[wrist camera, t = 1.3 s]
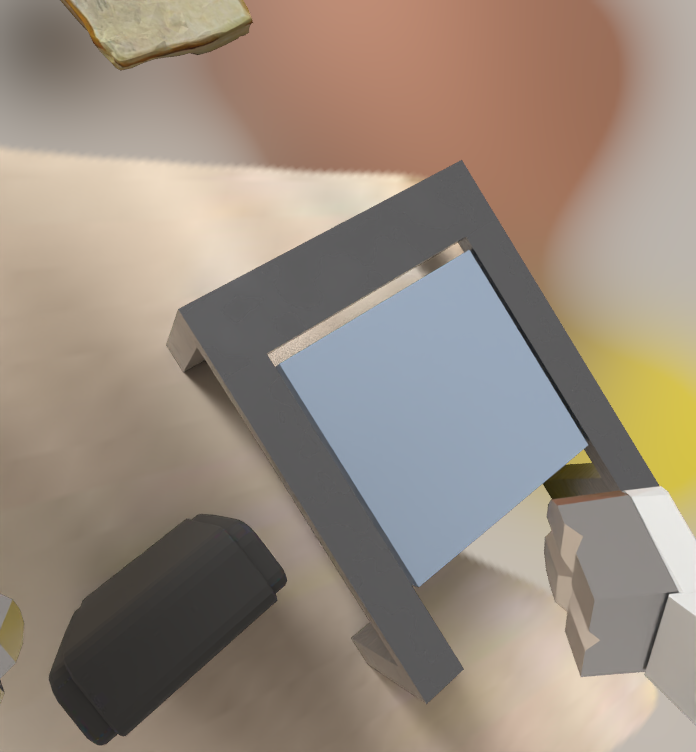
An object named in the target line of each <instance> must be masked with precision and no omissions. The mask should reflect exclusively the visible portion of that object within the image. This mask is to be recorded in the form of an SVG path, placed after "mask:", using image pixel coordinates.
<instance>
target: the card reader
mask: <svg viewBox="0 0 696 752" xmlns="http://www.w3.org/2000/svg"><path fill="white" fill-rule="evenodd" d="M286 582H287V578H286V575H285V572H284V570H283V569H282V567H281V566H280V564H279V563H278V562H277V561H276V559H275V558H274V557H273V555H272V554H271V553H270V551H269V550H268V549H267V547H266V546H265V545H264V543H263V542H262V541H261V539H260V538H259V537H258V535H257V534H256V533H255V532H254V531H253V530H252V529H251V528H250V527H249V526H248V525H247V524H245V523H244V522H242V521H240V520H237V519H232V518H227V517H222V516H217V515H208V514H199V515H197V516H196V517H194V518H193V519H192V520H191V519H186V520H184V521H183V522H182V523H181V524H179V525H178V526H177V527H175V528H174V529H173V530H172V531H170V532H169V533H168V534H166V535H165V536H164V537H163V538H161V539H160V540H159V541H158V542H156V543H155V544H154V545H152V546H151V547H150V548H149V549H147V550H146V551H145V552H144V553H142V554H141V555H140V556H138V557H137V558H136V559H135V560H133V561H132V562H131V563H129V564H128V565H127V566H126V567H124V568H123V569H122V570H121V571H119V572H118V573H117V574H115V575H114V576H113V577H112V578H110V579H109V580H108V581H106V582H105V583H104V584H103V585H101V586H100V587H99V588H98V589H96V590H95V591H94V592H92V593H91V594H90V595H89V596H87V597H86V598H85V599H84V600H83V601H82V604H81V607H80V608H79V609H77V610H76V611H75V613H74V614H73V616H72V619H71V621H70V623H69V625H68V627H67V630H66V632H65V634H64V637H63V639H62V642H61V645H60V647H59V650H58V653H57V655H56V658H55V660H54V663H53V666H52V669H51V671H50V674H49V681H50V685H51V688H52V691H53V693H54V695H55V697H56V699H57V701H58V702H59V704H60V705H61V706H62V707H63V709H64V710H65V711H66V712H67V714H68V715H69V716H70V717H71V719H72V720H73V721H74V722H75V724H76V725H77V726H78V728H79V729H80V730H81V731H82V733H83V734H84V735H85V736H86V738H87V739H89V740H90V741H92V742H93V743H95V744H97V745H104V744H107V743H108V742H109V741H110V740H111V739H113V738H114V737H115V736H116V735H117V734H119V735H120V736H126V735H127V734H128V733H129V732H131V731H132V730H133V729H134V728H135V727H136V726H137V725H138V724H139V723H141V722H142V721H143V720H144V719H145V718H146V717H147V716H148V715H150V714H151V713H152V712H153V711H154V710H155V709H156V708H157V707H158V706H160V705H161V704H162V703H163V702H164V701H165V700H166V699H167V698H169V697H170V696H171V695H172V694H173V693H174V692H175V691H176V690H178V689H179V688H180V687H181V686H182V685H183V684H184V683H185V682H186V681H188V680H189V679H190V678H191V677H192V676H193V675H194V674H195V673H197V672H198V671H199V670H200V669H201V668H202V667H203V666H204V665H205V664H207V663H208V662H209V661H210V660H211V659H212V658H213V657H214V656H216V655H217V654H218V653H219V652H220V651H221V650H222V649H223V648H224V647H226V646H227V645H228V644H229V643H230V642H231V641H232V640H233V639H235V638H236V637H237V636H238V635H239V634H240V633H241V632H242V631H243V630H245V629H246V628H247V627H248V626H249V625H250V624H251V623H252V622H254V621H255V620H256V619H257V618H258V617H259V616H260V615H261V614H262V613H264V612H265V611H266V610H267V609H268V608H269V607H270V606H271V605H273V604H274V603H275V602H276V601H277V596H276V593H277V592H278V591H279V590H280V589H281V588H283V587H284V586H285V584H286Z"/></svg>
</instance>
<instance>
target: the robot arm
mask: <svg viewBox="0 0 696 752" xmlns="http://www.w3.org/2000/svg"><path fill="white" fill-rule="evenodd" d="M547 519H548V522H549V524H550V527H551V530H552V531H551V532H550V533H549V534H548V535H547V536H546V537H545V547H544V548H545V549H544V555H545V562H546V571H547V576H548V579H549V584H550V587H551V590H552V593H553V597H554V600H555V602H556V603H557V604H558V605H560V606H561V607H562V608H563V609H564V610H566V611H567V619H566V627H565V633H566V636H567V638H568V641H569V644H570V647H571V650H572V653H573V656H574V659H575V662H576V665H577V667H578V670H579V673H580V676H581V677H586V676H598V675H611V674H623V673H636V672H645V676H646V677H647V678H648V679H649V680H650V681H651V682H652V683H653V684H654V685H655V686H656V687H657V688H658V689H659V690H660V691H661V692H662V693H663V694H664V695H665V696H666V697H667V698H668V699H669V700H670V701H671V702H672V703H673V704H674V705H675V706H677V708H678V709H679V710H680V711H681V712H682V713H684V714H685V715H686V716H687V717H688V718H689V719H690V720H691V721H692V722H693V723H694V724H695V725H696V538H695V537H694V535H693V533H692V532H691V530H690V528H689V527H688V525H687V523H686V521H685V520H684V518H683V516H682V515H681V513H680V511H679V509H678V508H677V506H676V504H675V503H674V501H673V499H672V498H671V496H670V494H669V493H668V491H666V490H665V489H664V488H662V487H661V486H659V487H650V488H641V489H633V490H625V491H620V490H618V491H611V492H603V493H596V494H588V495H581V496H573V497H566V498H558V499H552V500H551V501H550V502H549V504H548V511H547ZM23 631H24V621H23V618H22V615H21V611H20V609H19V607H18V606H17V605H16V603H15V602H14V601H13V599H11V598H8V597H6V596H4V595H2V594H0V678H1V677H2V676H3V675H4V674H5V673H6V672H7V671H8V670H9V669H10V668H11V667H12V666H13V665H14V664H15V663H16V661H17V658H18V656H19V653H20V650H21V647H22V644H23ZM3 696H4V690H3V687H2V684H1V680H0V704H1V701H2V699H3Z"/></svg>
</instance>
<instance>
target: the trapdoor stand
mask: <svg viewBox="0 0 696 752" xmlns="http://www.w3.org/2000/svg"><path fill="white" fill-rule="evenodd" d="M456 243H459V245H460V247H461V248H462V250H463V251H464V253H465V252H466V251H468V250H470V252H471V253H472V255H473V257H474V258H475V260H476V262H477V263H478V265H479V266H480V268H481V270H482V271H483V273H484V275H485V276H486V278H487V280H488V281H489V283H490V284H491V286H492V288H493V289H494V291H495V293H496V294H497V296H498V298H499V299H500V301H501V303H502V304H503V306H504V307H505V309H506V311H507V312H508V314H509V316H510V317H511V319H512V321H513V322H514V324H515V326H516V327H517V329H518V330H519V332H520V334H521V335H522V337H523V339H524V340H525V342H526V344H527V345H528V347H529V348H530V350H531V352H532V353H533V355H534V357H535V358H536V360H537V362H538V363H539V365H540V367H541V368H542V370H543V371H544V373H545V375H546V376H547V378H548V380H549V381H550V383H551V385H552V386H553V388H554V390H555V391H556V393H557V394H558V396H559V398H560V399H561V401H562V403H563V404H564V406H565V408H566V409H567V411H568V412H569V414H570V416H571V417H572V419H573V421H574V422H575V424H576V426H577V427H578V429H579V431H580V432H581V434H582V435H583V437H584V439H585V440H586V442H587V444H588V446H587V447H586V448H584V450H585V451H586V453H587V455H588V456H589V458H590V460H591V461H592V463H586V464H570V465H564V466H563V467H562V468H561V469H559V470H558V471H557V472H556V473H555V474H553V475H552V476H551V477H550V478H549V479H547V480H546V481H545V482H544V483H543V485H544V486H545V488H546V490H547V491H548V493H549V495H550V496H551V498H552V499H558V498H566V497H573V496H581V495H588V494H596V493H603V492H611V491H618V490H620V491H625V490H633V489H641V488H650V487H659V484H658V483H657V481H656V479H655V478H654V477H653V474H652V473H651V471H650V470H649V468H648V466H647V465H646V463H645V461H644V460H643V458H642V456H641V455H640V453H639V451H638V450H637V448H636V446H635V445H634V443H633V442H632V440H631V438H630V437H629V435H628V433H627V432H626V430H625V428H624V427H623V425H622V424H621V422H620V420H619V419H618V417H617V415H616V413H615V412H614V410H613V409H612V407H611V405H610V404H609V402H608V400H607V399H606V397H605V395H604V394H603V392H602V390H601V389H600V387H599V385H598V384H597V382H596V381H595V379H594V377H593V376H592V374H591V372H590V371H589V369H588V367H587V366H586V364H585V363H584V361H583V359H582V358H581V356H580V354H579V353H578V351H577V349H576V348H575V346H574V344H573V343H572V341H571V339H570V338H569V336H568V335H567V333H566V331H565V329H564V328H563V326H562V324H561V323H560V321H559V319H558V318H557V316H556V315H555V313H554V311H553V310H552V308H551V306H550V305H549V303H548V301H547V300H546V299H545V296H544V295H543V293H542V291H541V290H540V288H539V287H538V285H537V283H536V282H535V280H534V278H533V277H532V275H531V273H530V272H529V270H528V269H527V267H526V265H525V263H524V262H523V260H522V259H521V257H520V255H519V254H518V252H517V251H516V249H515V247H514V246H513V244H512V242H511V240H510V239H509V237H508V235H507V234H506V232H505V230H504V229H503V227H502V226H501V224H500V222H499V221H498V219H497V217H496V216H495V214H494V213H493V211H492V209H491V208H490V206H489V204H488V202H487V201H486V199H485V198H484V196H483V194H482V193H481V191H480V190H479V188H478V186H477V184H476V183H475V181H474V179H473V178H472V176H471V175H470V173H469V171H468V169H467V168H466V166H465V165H464V163H463V161H462V160H461V161H459V162H457V163H455V164H453V165H452V166H449V167H448V168H446V169H444V170H442V171H440V172H438V173H436V174H434V175H432V176H430V177H429V178H427V179H425V180H423V181H421V182H419V183H417V184H415V185H413V186H411V187H410V188H408V189H406V190H404V191H402V192H400V193H398V194H396V195H394V196H392V197H391V198H389V199H387V200H385V201H383V202H381V203H379V204H377V205H375V206H373V207H372V208H370V209H368V210H366V211H364V212H362V213H360V214H358V215H356V216H354V217H353V218H351V219H349V220H347V221H345V222H343V223H341V224H339V225H337V226H335V227H334V228H332V229H330V230H328V231H326V232H324V233H322V234H320V235H318V236H316V237H315V238H313V239H311V240H309V241H307V242H305V243H303V244H301V245H299V246H297V247H296V248H294V249H292V250H290V251H288V252H286V253H284V254H282V255H280V256H278V257H277V258H275V259H273V260H271V261H269V262H267V263H265V264H263V265H261V266H259V267H258V268H256V269H254V270H252V271H250V272H248V273H246V274H244V275H242V276H240V277H239V278H237V279H235V280H233V281H231V282H229V283H227V284H225V285H223V286H221V287H219V288H218V289H216V290H214V291H212V292H210V293H208V294H206V295H204V296H202V297H200V298H199V299H197V300H195V301H193V302H191V303H189V304H187V305H185V306H183V307H181V308H180V309H178V311H177V314H176V317H175V320H174V323H173V326H172V329H171V332H170V335H169V338H168V341H167V344H166V346H167V347H168V349H169V350H170V352H171V354H172V355H173V357H174V358H175V360H176V361H177V363H178V365H179V366H180V368H181V369H182V371H183V372H184V371H186V370H188V369H190V368H192V367H193V366H195V365H197V364H199V363H200V362H202V361H204V360H206V362H207V364H208V365H209V367H210V368H211V370H212V372H213V373H214V375H215V376H216V378H217V379H218V381H219V383H220V384H221V386H222V387H223V389H224V391H225V392H226V394H227V395H228V397H229V399H230V400H231V402H232V403H233V405H234V406H235V408H236V410H237V411H238V413H239V414H240V416H241V418H242V419H243V421H244V422H245V424H246V426H247V427H248V429H249V430H250V432H251V433H252V435H253V437H254V438H255V440H256V441H257V443H258V445H259V446H260V448H261V449H262V451H263V453H264V454H265V456H266V457H267V459H268V460H269V462H270V464H271V465H272V467H273V468H274V470H275V472H276V473H277V475H278V476H279V478H280V480H281V481H282V483H283V484H284V486H285V487H286V489H287V491H288V492H289V494H290V495H291V497H292V499H293V500H294V502H295V503H296V505H297V507H298V508H299V510H300V511H301V513H302V514H303V516H304V518H305V519H306V521H307V522H308V524H309V526H310V527H311V529H312V530H313V532H314V534H315V535H316V537H317V538H318V540H319V541H320V543H321V545H322V546H323V548H324V549H325V551H326V553H327V554H328V556H329V557H330V559H331V561H332V562H333V564H334V565H335V567H336V568H337V570H338V572H339V573H340V575H341V576H342V578H343V580H344V581H345V583H346V584H347V586H348V588H349V589H350V591H351V592H352V594H353V595H354V597H355V599H356V600H357V602H358V603H359V605H360V607H361V608H362V610H363V611H364V613H365V615H366V616H367V618H368V619H369V621H370V623H369V624H367V625H366V626H365V627H364V628H363V629H361V630H360V631H359V632H358V633H357V634H355V635H354V636H353V637H352V638H351V639H352V640H353V642H354V643H355V645H356V647H357V648H358V650H359V651H360V653H361V654H362V656H363V658H364V659H365V661H366V662H367V664H368V665H370V666H371V667H373V668H374V669H376V670H377V671H379V672H380V673H381V674H383V675H384V676H386V677H387V678H389V679H390V680H392V681H393V682H395V683H396V684H398V685H399V686H401V687H402V688H404V689H405V690H407V691H408V692H410V693H411V694H413V695H414V696H416V697H417V698H418V699H420V700H421V701H423V702H424V703H426V704H427V703H428V702H429V701H430V700H431V699H432V698H434V697H435V696H436V695H437V694H438V693H439V692H440V691H441V690H442V689H443V688H444V687H445V686H446V685H447V684H449V683H450V682H451V681H452V680H453V679H454V678H455V677H456V676H457V675H458V674H459V673H460V672H461V671H462V670H464V669H463V667H462V665H461V664H460V662H459V661H458V659H457V657H456V656H455V654H454V653H453V651H452V649H451V648H450V646H449V645H448V643H447V641H446V640H445V638H444V637H443V635H442V633H441V632H440V630H439V629H438V627H437V625H436V624H435V622H434V621H433V619H432V617H431V616H430V614H429V613H428V611H427V609H426V608H425V606H424V605H423V603H422V601H421V600H420V598H419V597H418V595H417V593H416V592H415V590H414V589H413V587H412V585H411V584H410V582H409V581H408V579H407V577H406V576H405V574H404V573H403V571H402V569H401V568H400V566H399V565H398V563H397V561H396V560H395V558H394V557H393V555H392V553H391V552H390V550H389V549H388V547H387V545H386V544H385V542H384V541H383V539H382V537H381V536H380V534H379V533H378V531H377V529H376V528H375V526H374V525H373V523H372V521H371V520H370V518H369V517H368V515H367V513H366V512H365V510H364V509H363V507H362V505H361V504H360V502H359V501H358V499H357V497H356V496H355V494H354V493H353V491H352V489H351V488H350V486H349V485H348V483H347V481H346V480H345V478H344V477H343V475H342V474H341V472H340V470H339V469H338V467H337V466H336V464H335V462H334V461H333V459H332V458H331V456H330V454H329V453H328V451H327V450H326V448H325V446H324V445H323V443H322V442H321V440H320V438H319V437H318V435H317V434H316V432H315V430H314V429H313V427H312V426H311V424H310V422H309V421H308V419H307V418H306V416H305V414H304V413H303V411H302V410H301V408H300V406H299V405H298V403H297V402H296V400H295V398H294V397H293V395H292V394H291V392H290V390H289V389H288V387H287V386H286V384H285V382H284V381H283V379H282V378H281V376H280V374H279V373H278V371H277V370H276V368H275V366H274V365H273V363H272V362H271V360H270V358H269V357H268V354H269V353H271V352H273V351H274V350H276V349H278V348H280V347H281V346H283V345H285V344H286V343H288V342H290V341H291V340H293V339H295V338H297V337H298V336H300V335H302V334H303V333H305V332H307V331H308V330H310V329H312V328H313V327H315V326H317V325H319V324H320V323H322V322H324V321H325V320H327V319H329V318H330V317H332V316H334V315H335V314H337V313H339V312H341V311H342V310H344V309H346V308H347V307H349V306H351V305H352V304H354V303H356V302H358V301H359V300H361V299H363V298H364V297H366V296H368V295H369V294H371V293H373V292H374V291H376V290H378V289H380V288H381V287H383V286H385V285H386V284H388V283H390V282H391V281H393V280H395V279H397V278H398V277H400V276H402V275H403V274H405V273H407V272H408V271H410V270H412V269H413V268H415V267H417V266H419V265H420V264H422V263H424V262H425V261H427V260H429V259H430V258H432V257H434V256H436V255H437V254H439V253H441V252H442V251H444V250H446V249H447V248H449V247H451V246H452V245H454V244H456Z"/></svg>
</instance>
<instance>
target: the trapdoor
mask: <svg viewBox="0 0 696 752" xmlns="http://www.w3.org/2000/svg"><path fill="white" fill-rule="evenodd" d="M275 368H276V370H277V371H278V373H279V374H280V376H281V378H282V379H283V381H284V382H285V384H286V386H287V387H288V389H289V390H290V392H291V394H292V395H293V397H294V398H295V400H296V402H297V403H298V405H299V406H300V408H301V410H302V411H303V413H304V414H305V416H306V418H307V419H308V421H309V422H310V424H311V426H312V427H313V429H314V430H315V432H316V434H317V435H318V437H319V438H320V440H321V442H322V443H323V445H324V446H325V448H326V450H327V451H328V453H329V454H330V456H331V458H332V459H333V461H334V462H335V464H336V466H337V467H338V469H339V470H340V472H341V474H342V475H343V477H344V478H345V480H346V481H347V483H348V485H349V486H350V488H351V489H352V491H353V493H354V494H355V496H356V497H357V499H358V501H359V502H360V504H361V505H362V507H363V509H364V510H365V512H366V513H367V515H368V517H369V518H370V520H371V521H372V523H373V525H374V526H375V528H376V529H377V531H378V533H379V534H380V536H381V537H382V539H383V541H384V542H385V544H386V545H387V547H388V549H389V550H390V552H391V553H392V555H393V557H394V558H395V560H396V561H397V563H398V565H399V566H400V568H401V569H402V571H403V573H404V574H405V576H406V577H407V579H408V581H409V582H410V584H411V585H414V586H417V587H420V586H421V585H422V584H423V583H425V582H426V581H427V580H428V579H429V578H430V577H432V576H433V575H434V574H435V573H436V572H438V571H439V570H440V569H441V568H442V567H444V566H445V565H446V564H447V563H448V562H450V561H451V560H452V559H453V558H454V557H456V556H457V555H458V554H459V553H460V552H462V551H463V550H464V549H465V548H466V547H467V546H469V545H470V544H471V543H472V542H473V541H475V540H476V539H477V538H478V537H479V536H481V535H482V534H483V533H484V532H485V531H486V530H488V529H489V528H490V527H491V526H492V525H494V524H495V523H496V522H497V521H499V520H500V519H501V518H502V517H503V516H504V515H506V514H507V513H508V512H509V511H510V510H512V509H513V508H514V507H515V506H516V505H517V504H519V503H520V502H521V501H522V500H524V499H525V498H526V497H527V496H528V495H529V494H531V493H532V492H533V491H534V490H536V489H537V488H538V487H539V486H540V485H541V484H543V483H544V482H545V481H546V480H547V479H549V478H550V477H551V476H552V475H553V474H555V473H556V472H557V471H558V470H559V469H561V468H562V467H563V466H564V465H565V464H567V463H568V462H569V461H570V460H571V459H572V458H574V457H575V456H576V455H577V454H578V453H580V452H581V451H582V450H583V449H584V448H586V447H587V446H588V444H587V442H586V440H585V439H584V437H583V435H582V434H581V432H580V431H579V429H578V427H577V426H576V424H575V422H574V421H573V419H572V417H571V416H570V414H569V412H568V411H567V409H566V408H565V406H564V404H563V403H562V401H561V399H560V398H559V396H558V394H557V393H556V391H555V390H554V388H553V386H552V385H551V383H550V381H549V380H548V378H547V376H546V375H545V373H544V371H543V370H542V368H541V367H540V365H539V363H538V362H537V360H536V358H535V357H534V355H533V353H532V352H531V350H530V348H529V347H528V345H527V344H526V342H525V340H524V339H523V337H522V335H521V334H520V332H519V330H518V329H517V327H516V326H515V324H514V322H513V321H512V319H511V317H510V316H509V314H508V312H507V311H506V309H505V307H504V306H503V304H502V303H501V301H500V299H499V298H498V296H497V294H496V293H495V291H494V289H493V288H492V286H491V284H490V283H489V281H488V280H487V278H486V276H485V275H484V273H483V271H482V270H481V268H480V266H479V265H478V263H477V262H476V260H475V258H474V257H473V255H472V253H471V252H470V250H468V251H466V252H465V253H463V254H461V255H460V256H458V257H456V258H455V259H453V260H451V261H450V262H448V263H446V264H445V265H443V266H441V267H440V268H438V269H436V270H435V271H433V272H431V273H430V274H428V275H426V276H425V277H423V278H421V279H420V280H418V281H416V282H415V283H413V284H411V285H410V286H408V287H407V288H405V289H403V290H402V291H400V292H398V293H397V294H395V295H393V296H392V297H390V298H388V299H387V300H385V301H383V302H382V303H380V304H378V305H377V306H375V307H373V308H372V309H370V310H368V311H367V312H365V313H363V314H362V315H360V316H358V317H357V318H355V319H353V320H352V321H350V322H348V323H347V324H345V325H343V326H342V327H340V328H338V329H337V330H335V331H333V332H332V333H330V334H328V335H327V336H325V337H323V338H322V339H320V340H318V341H317V342H315V343H313V344H312V345H310V346H308V347H307V348H305V349H303V350H302V351H300V352H298V353H297V354H295V355H293V356H292V357H290V358H288V359H287V360H285V361H283V362H282V363H280V364H279V365H277V366H276V367H275Z"/></svg>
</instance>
